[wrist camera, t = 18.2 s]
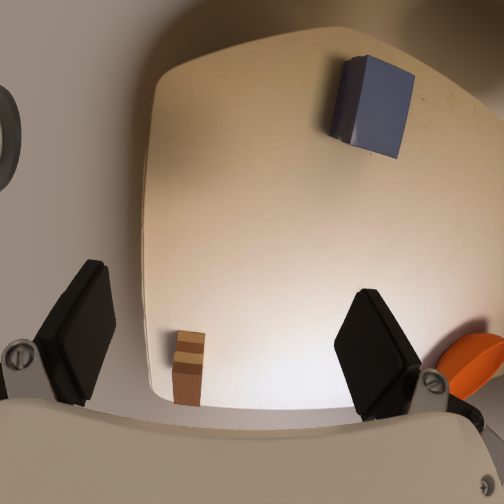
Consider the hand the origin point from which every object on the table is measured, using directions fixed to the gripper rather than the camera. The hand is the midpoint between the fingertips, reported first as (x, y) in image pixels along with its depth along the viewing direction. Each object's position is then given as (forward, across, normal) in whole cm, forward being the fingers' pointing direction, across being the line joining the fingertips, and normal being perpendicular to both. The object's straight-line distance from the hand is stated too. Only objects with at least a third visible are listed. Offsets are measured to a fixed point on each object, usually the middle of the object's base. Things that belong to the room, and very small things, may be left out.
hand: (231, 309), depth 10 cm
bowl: (+26, -64, +35) cm, 78 cm away
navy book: (+22, -14, -10) cm, 28 cm away
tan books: (+26, +3, +33) cm, 42 cm away
